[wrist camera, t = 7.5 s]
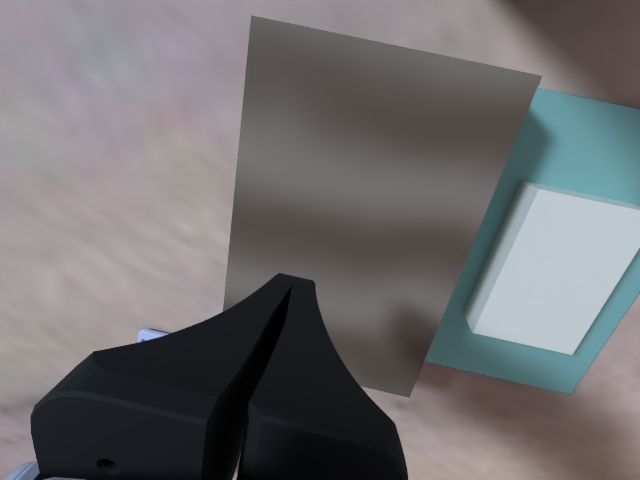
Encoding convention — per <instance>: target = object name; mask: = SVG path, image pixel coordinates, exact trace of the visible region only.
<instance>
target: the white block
mask: <svg viewBox="0 0 640 480" xmlns="http://www.w3.org/2000/svg"><path fill="white" fill-rule="evenodd" d="M639 248H640V207H639V206H636V205H633V204H631V203H626V202H622V201H617V200H612V199H607V198H603V197H598V196H593V195H588V194H584V193H579V192H574V191H569V190H565V189H560V188H555V187H550V186H546V185H541V184H536V183H531V182H526V181H522V180H521V182H520V184H519V186H518V188H517V191H516V193H515V195H514V198H513V200H512V202H511V205H510V207H509V209H508V211H507V214H506V216H505V218H504V221H503V223H502V225H501V228H500V230H499V232H498V235H497V237H496V239H495V241H494V244H493V246H492V248H491V251H490V253H489V255H488V258H487V260H486V262H485V264H484V267H483V269H482V271H481V274H480V276H479V278H478V281H477V283H476V285H475V287H474V290H473V292H472V294H471V297H470V299H469V301H468V304H467V306H466V308H465V310H464V313H463V314H464V316H465V318H466V320H467V322H468V324H469V326H470V329H471V331H472V333H475V334H480V335H484V336H489V337H493V338H498V339H502V340H507V341H511V342H516V343H520V344H525V345H529V346H534V347H538V348H543V349H547V350H552V351H556V352H561V353H565V354H569V355H573V353H574V351H575V350H576V348H577V347H578V345H579V343H580V342H581V340H582V339H583V337H584V335H585V334H586V332H587V331H588V329H589V328H590V326H591V324H592V323H593V321H594V320H595V318H596V316H597V315H598V313H599V312H600V310H601V308H602V307H603V305H604V304H605V302H606V300H607V299H608V297H609V296H610V294H611V293H612V291H613V289H614V288H615V286H616V285H617V283H618V281H619V280H620V278H621V277H622V275H623V273H624V272H625V270H626V269H627V267H628V266H629V264H630V262H631V261H632V259H633V258H634V256H635V254H636V253H637V251H638V250H639Z"/></svg>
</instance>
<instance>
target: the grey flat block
mask: <svg viewBox="0 0 640 480" xmlns="http://www.w3.org/2000/svg"><path fill="white" fill-rule="evenodd" d="M541 78H542V76H539V75H534V74H530V73H525V72H520V71H515V70H510V69H506V68H501V67H496V66H491V65H486V64H482V63H477V62H472V61H467V60H462V59H458V58H453V57H448V56H443V55H438V54H434V53H429V52H424V51H419V50H414V49H409V48H405V47H400V46H395V45H390V44H385V43H381V42H376V41H371V40H366V39H361V38H357V37H352V36H347V35H342V34H337V33H333V32H328V31H323V30H318V29H313V28H309V27H304V26H299V25H294V24H289V23H285V22H280V21H275V20H270V19H265V18H260V17H256V16H251V24H250V35H249V45H248V56H247V66H246V77H245V87H244V98H243V108H242V119H241V129H240V140H239V150H238V161H237V171H236V181H235V192H234V202H233V213H232V223H231V234H230V244H229V255H228V265H227V276H226V286H225V297H224V307H223V312H224V311H225V310H227V309H229V308H231V307H232V306H234V305H235V304H237V303H239V302H240V301H242V300H243V299H245V298H246V297H248V296H249V295H251V294H252V293H253V292H255V291H256V290H258V289H259V288H260V287H262V286H263V285H264V284H265V283H267V282H268V281H269V280H270V279H271V278H273V277H274V276H275V275H276V274H278V273H283V274H287V275H291V276H296V277H300V278H304V279H309V280H313V281H314V282H315V284H316V296H317V301H318V305H319V309H320V312H321V316H322V319H323V322H324V324H325V327H326V329H327V332H328V334H329V337H330V339H331V341H332V343H333V345H334V347H335V349H336V351H337V353H338V354H339V356H340V358H341V359H342V361H343V363H344V364H345V366H346V368H347V369H348V370H349V372H350V373H351V375H352V376H353V377H354V379H355V380H356V382H357V383H358V384H359V385H360V386H362V387H367V388H371V389H375V390H379V391H384V392H388V393H392V394H397V395H401V396H405V397H410V394H411V392H412V389H413V387H414V385H415V382H416V380H417V377H418V375H419V373H420V370H421V368H422V365H423V363H424V360H425V358H426V356H427V353H428V351H429V348H430V346H431V344H432V341H433V339H434V336H435V334H436V331H437V329H438V327H439V324H440V322H441V319H442V317H443V315H444V312H445V310H446V307H447V305H448V302H449V300H450V298H451V295H452V293H453V290H454V288H455V286H456V283H457V281H458V278H459V276H460V273H461V271H462V269H463V266H464V264H465V261H466V259H467V257H468V254H469V252H470V249H471V247H472V244H473V242H474V240H475V237H476V235H477V232H478V230H479V228H480V225H481V223H482V220H483V218H484V215H485V213H486V211H487V208H488V206H489V203H490V201H491V199H492V196H493V194H494V191H495V189H496V186H497V184H498V182H499V179H500V177H501V174H502V172H503V170H504V167H505V165H506V162H507V160H508V157H509V155H510V153H511V150H512V148H513V145H514V143H515V141H516V138H517V136H518V133H519V131H520V128H521V126H522V124H523V121H524V119H525V116H526V114H527V112H528V109H529V107H530V104H531V102H532V99H533V97H534V95H535V92H536V90H537V87H538V85H539V83H540V80H541Z"/></svg>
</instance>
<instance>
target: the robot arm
mask: <svg viewBox="0 0 640 480" xmlns="http://www.w3.org/2000/svg"><path fill="white" fill-rule="evenodd" d="M144 339H145V340H146V341H145V340H144ZM31 435H32V439H33V444H34V449H35V453H36V458H37V460H36V461H32V462H29V463H26V464H23V465H21V466H20V467H19V468H17V469H16V470H15V471H14V472H13V473H12V474H11V475H10V476H8V477H7V478H6V479H5V480H232V479H233V476H234V472H235V469H236V466H237V463H238V459H239V456H240V453H241V457H240V463H239V469H238V476H237V480H408V473H407V467H406V462H405V457H404V453H403V449H402V446H401V442H400V439H399V435H398V432H397V429H396V425H395V423H394V422H393V421H392V420H391V419H390V418H389V417H388V416H387V415H386V414H385V413H384V412H383V411H382V410H381V409H380V408H379V407H378V406H377V405H376V404H375V403H374V402H373V401H372V400H371V398H370V397H369V396H368V395H367V394H366V393H365V391H364V390H363V389H362V388H361V387H360V385H359V384H358V383H357V382H356V380H355V379H354V377H353V376H352V375H351V373H350V372H349V370H348V369H347V368H346V366H345V364H344V363H343V361H342V359H341V358H340V356H339V354H338V353H337V351H336V349H335V347H334V345H333V343H332V341H331V339H330V337H329V334H328V332H327V329H326V327H325V324H324V322H323V319H322V316H321V312H320V309H319V305H318V301H317V296H316V284H315V282H314V281H313V280H309V279H304V278H300V277H296V276H291V275H287V274H283V273H278V274H276V275H275V276H274V277H273V278H271V279H270V280H269V281H268V282H267V283H265V284H264V285H263V286H262V287H260V288H259V289H258V290H256V291H255V292H253V293H252V294H251V295H249V296H248V297H246V298H245V299H243V300H242V301H240V302H239V303H237V304H235V305H234V306H232V307H231V308H229V309H227V310H225V311H224V312H222V313H220V314H218V315H216V316H214V317H212V318H210V319H208V320H205V321H203V322H201V323H198V324H195V325H193V326H190V327H188V328H185V329H182V330H180V331H177V332H174V333H171V334H167V333H163V332H159V331H154V330H150V329H145V328H144V329H141V331H140V332H139V333H138V343H135V344H130V345H125V346H120V347H115V348H110V349H105V350H100V351H94V352H93V353H92V354H90V355H89V356H88V357H87V358H86V359H84V360H83V361H82V362H81V363H80V364H78V365H77V366H76V367H75V368H74V369H73V370H72V371H71V372H70V373H69V374H68V375H67V376H66V377H65V378H64V379H62V380H61V381H60V382H59V383H58V384H57V385H56V386H55V387H54V388H53V389H52V390H51V391H50V392H49V393H48V394H47V395H46V396H45V397H43V398H42V399H41V400H40V401H39V402H38V403H37V404H36V405H35V407H34V409H33V412H32V414H31Z"/></svg>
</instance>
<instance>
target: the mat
mask: <svg viewBox="0 0 640 480" xmlns="http://www.w3.org/2000/svg"><path fill="white" fill-rule="evenodd" d="M521 180H522V181H526V182H531V183H536V184H541V185H546V186H550V187H555V188H560V189H565V190H569V191H574V192H579V193H584V194H588V195H593V196H598V197H603V198H607V199H612V200H617V201H622V202H626V203H631V204H633V205H636V206H639V207H640V109H637V108H632V107H627V106H622V105H617V104H613V103H608V102H603V101H598V100H593V99H589V98H584V97H579V96H574V95H570V94H565V93H560V92H555V91H550V90H546V89H541V88H537V90H536V92H535V95H534V97H533V99H532V102H531V104H530V107H529V109H528V112H527V114H526V116H525V119H524V121H523V124H522V126H521V128H520V131H519V133H518V136H517V138H516V141H515V143H514V145H513V148H512V150H511V153H510V155H509V157H508V160H507V162H506V165H505V167H504V170H503V172H502V174H501V177H500V179H499V182H498V184H497V186H496V189H495V191H494V194H493V196H492V199H491V201H490V203H489V206H488V208H487V211H486V213H485V215H484V218H483V220H482V223H481V225H480V228H479V230H478V232H477V235H476V237H475V240H474V242H473V244H472V247H471V249H470V252H469V254H468V257H467V259H466V261H465V264H464V266H463V269H462V271H461V273H460V276H459V278H458V281H457V283H456V286H455V288H454V290H453V293H452V295H451V298H450V300H449V302H448V305H447V307H446V310H445V312H444V315H443V317H442V319H441V322H440V324H439V327H438V329H437V331H436V334H435V336H434V339H433V341H432V344H431V346H430V348H429V351H428V353H427V356H426V358H425V360H424V361H425V362H429V363H433V364H438V365H442V366H446V367H451V368H455V369H459V370H464V371H468V372H472V373H477V374H481V375H485V376H490V377H494V378H498V379H503V380H507V381H511V382H516V383H520V384H524V385H529V386H533V387H537V388H542V389H546V390H550V391H555V392H559V393H563V394H568V395H570V394H571V393H572V392H573V390H574V389H575V387H576V386H577V384H578V383H579V381H580V380H581V378H582V377H583V375H584V374H585V372H586V371H587V369H588V368H589V366H590V365H591V363H592V362H593V360H594V359H595V357H596V356H597V354H598V353H599V352H600V350H601V349H602V347H603V346H604V344H605V343H606V341H607V340H608V338H609V337H610V335H611V334H612V332H613V331H614V329H615V328H616V326H617V325H618V323H619V322H620V320H621V319H622V317H623V316H624V314H625V313H626V312H627V310H628V309H629V307H630V306H631V304H632V303H633V301H634V300H635V298H636V297H637V295H638V294H639V292H640V248H639V250H638V251H637V253H636V254H635V256H634V258H633V259H632V261H631V262H630V264H629V266H628V267H627V269H626V270H625V272H624V273H623V275H622V277H621V278H620V280H619V281H618V283H617V285H616V286H615V288H614V289H613V291H612V293H611V294H610V296H609V297H608V299H607V300H606V302H605V304H604V305H603V307H602V308H601V310H600V312H599V313H598V315H597V316H596V318H595V320H594V321H593V323H592V324H591V326H590V328H589V329H588V331H587V332H586V334H585V335H584V337H583V339H582V340H581V342H580V343H579V345H578V347H577V348H576V350H575V351H574V353H573V355H569V354H565V353H561V352H556V351H552V350H547V349H543V348H538V347H534V346H529V345H525V344H520V343H516V342H511V341H507V340H502V339H498V338H493V337H489V336H484V335H480V334H475V333H472V331H471V329H470V326H469V324H468V322H467V320H466V318H465V316H464V314H463V313H464V310H465V308H466V306H467V304H468V301H469V299H470V297H471V294H472V292H473V290H474V287H475V285H476V283H477V281H478V278H479V276H480V274H481V271H482V269H483V267H484V264H485V262H486V260H487V258H488V255H489V253H490V251H491V248H492V246H493V244H494V241H495V239H496V237H497V235H498V232H499V230H500V228H501V225H502V223H503V221H504V218H505V216H506V214H507V211H508V209H509V207H510V205H511V202H512V200H513V198H514V195H515V193H516V191H517V188H518V186H519V184H520V182H521Z"/></svg>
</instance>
